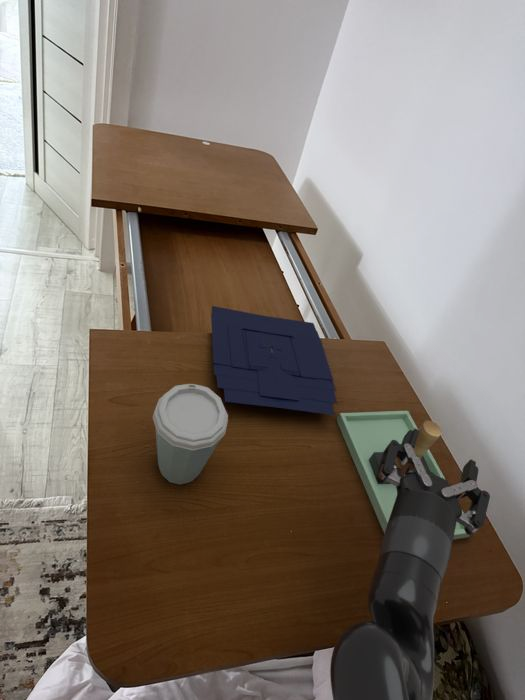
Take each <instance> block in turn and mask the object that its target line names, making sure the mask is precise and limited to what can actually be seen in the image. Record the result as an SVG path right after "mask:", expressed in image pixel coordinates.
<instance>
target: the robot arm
mask: <svg viewBox="0 0 525 700" xmlns="http://www.w3.org/2000/svg"><path fill="white" fill-rule="evenodd" d="M418 435H419V429H418V430H417V429H414V430H413V431H412V430H409V431H408V432H407V433H406V435H405V436H404V438H403V441H402V443H401V444H399V443H398V441H396V440H392V441H391V442H390V443H389V445H388V446H387V447H386V449H385V450H384V452H383V455H382V459H381V462H380V466H379V469H378V472H377V476H376V480H377V481H378V482H379V483H384V482H385V481H387V482H389V483H391V484H393V485H395V486H396V489H397V497H396V500H395V503H394V506H393V509H392V512H391V515H390V518H389V521H388V524H387V527H386V530H385V533H384V532H383V537H382V540H381V543H380V544H381V545H380V548H379V555H378V559H377V563H376V565H375V568H374V571H373V575H372V578H371V581H370V584H369V586H368V591H367V607H368V611H369V613H370V616H371V619H372V621H370V620H363V621H358V622H355V623H352V624H351V625H349V626H347V627H346V628H345V629H344V630H343V631H342V633H341V634H340V635H339V637H338V638H337V640H336V641H335V644H334V647H333V650H332V653H331V659H330V669H329V674H330V675H329V676H330V677H329V678H330V689H331V694H332V700H433V697H434V688H435V635H434V620H435V615H436V612H437V607H438V603H439V599H440V598H439V597H440V594H441V593H440V592H441V588H442V584H443V580H444V578H445V575H446V573H447V569H448V567H449V563H450V561H451V556H452V554H451V551H452V547H453V542H454V540H453V538H454V533H455V528H456V523H457V522H458V523H460V524H461V525H463V526H464V530H465V532H466V533H467V534H468V535H470V536H472V535H474V534H475V533H476V532H477V531H479V530H480V529H481V528H482V527H484V525H485V520H486V515H487V512H488V508H489V502H490V498H491V495H490V493H489V491H487V490H482V489H480V487H479V486H478V483H477V481H478V476H479V467H478V466H477V461H475V460H474V459H469V461H468V462H466V464H464V466H463V468H462V472H461V476H460V481H459V482H458V483H455V484H453V485H451V484H450V483H449V480H447V479H446V478H445V479H443V478H441V477H438V476H436V475H435V474H434V473H433V472H431V471H429V470H428V469H426V470H425V469H424V466H423V464H422V462H421V460H420V458H417V457H416V455H415V452H414V450H413V448H414V447H415V444H416V441H417V438H418ZM396 457H397V459H398V461H399V464H400V466H401V470H400V471H401V475H402V477H399V476H398V474H397V466H396V465H394V464H395V460H396ZM413 470H415V472H413V473H412V471H413ZM465 498H468V499H469V500H470V501H471V502H470V506H469V508H468V510H467V511H466V512H464V513H462V511H463V509H462V506H461V504H460V502H459V501H461V500H463V499H465Z"/></svg>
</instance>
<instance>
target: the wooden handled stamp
mask: <svg viewBox="0 0 525 700" xmlns="http://www.w3.org/2000/svg"><path fill="white" fill-rule="evenodd" d="M418 430H419V435H418V438H417V441H416V444H415V447H414V448H413V450H414V452H415V455H416V457H417V458H420V460H421V462H422V464H423V466H424V469H425V470H426V469H428V470H429V471H430V469H429V467H428V465H427V462H426V460H425V458H424V456H423V455H424V454H425V453H426V452H427V450H428V449H429V450H430V448H431V447H432V446H433V445H434V443H435V442H436V441H437V440H438V439H439V438H440V436H441V435H442V429H441V427H440V425H438V424H437V422H435V421H432V420H425V421H424V422H423V423H422V424H421V426H420V427H419V428H418ZM382 455H383V452H374V453H373V454H372V456H371V457H370V458H369V462H370V465H371V468H372V470H373V473H374V475H375V478H376V476H377V472H378V469H379V466H380V462H381V459H382ZM394 465H396V466H397V474H398V476H399V477H402V475H401V471H400V470H401V466H400V464H399V461H398V459H397V457H396V460H395V464H394ZM413 472H415V470H413V471H412V473H413ZM376 481H377V480H376ZM377 483H378V484H391V483H389V482H387V481H385V482H384V483H379V482H378V481H377Z"/></svg>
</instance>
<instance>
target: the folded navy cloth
mask: <svg viewBox="0 0 525 700" xmlns="http://www.w3.org/2000/svg"><path fill="white" fill-rule="evenodd" d="M210 317H211V318H210V320H211V321H210V323H211V342H212V343H211V344H212V364H213V365H212V366H213V375H214V376H215V377H216V386H217V388H218V389H223V393H224V395H223V396H224V402H225V403H235V404H243V405H251V406H259V407H268V408H269V407H270V408H277V409H278V408H279V409H285V410H286V409H287V410H293V411H301V412H307V413H316V414H324V415H331V416H336V414H335V410H334V406H333V404H338V401H337V397H336V392H337V389H336V387H335V383H334V378H333V374H332V371H331V368H330V365H329V362H328V359H327V355H326V352H325V350H324V346H323V343H322V339H321V337H320V334H319V332H318V330H317V329H316V328H317V327H316V325H315V323H314V322H310V321H304V320H303V321H302V320H295V319H290V318H289V319H288V318H282V317H277V316H276V317H274V316H268V315H263V314H257V313H251V312H246V311H241V310H236V309H231V308H225V307H220V306H216V305H211V313H210Z"/></svg>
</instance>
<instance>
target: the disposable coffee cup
mask: <svg viewBox="0 0 525 700" xmlns="http://www.w3.org/2000/svg"><path fill="white" fill-rule="evenodd" d="M228 418H229V414H228V412H227V410H226V407H225V406H224V403H223V401H222V398H221V397H220V396H219V395H217V394H216V393H215V391H213V390H212V389H211V388H209V387H207V386H204V385H200V384H196V383H184V384H178V385H174V386H172V388H171V389H170V390H168V391H167V392H165V393H164V394H163V395H162V396H161V397H160V398H159V399H158V401H157V403H156V405H155V409H154V411H153V415H152V420H153V423H154V426H155V439H156V453H157V455H156V456H157V465H158V468H159V472H160V474H161V476H162V477H163V478H164V479H166V480H167V481H168V483H171V484H175V485H180V486H181V485H184V484H188V483H192V482H193V481H194V480H195V479H196V478H197V477H198V476H199V475H200V474H201V472H202V471H203V469H204V468H205V466H206V464H207V462H208V460H209V459H210V457H211V456H212V454H213V453H214V451H215V450H216V448H217V446H218V445H219V442H220V441H221V440H222V438H223V437H225V435H226V431H227V427H228V423H229V419H228Z"/></svg>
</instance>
